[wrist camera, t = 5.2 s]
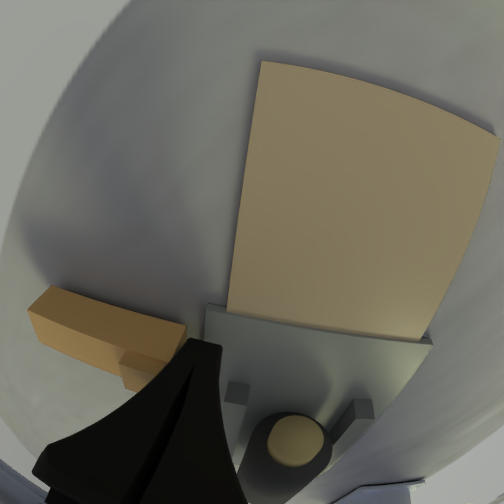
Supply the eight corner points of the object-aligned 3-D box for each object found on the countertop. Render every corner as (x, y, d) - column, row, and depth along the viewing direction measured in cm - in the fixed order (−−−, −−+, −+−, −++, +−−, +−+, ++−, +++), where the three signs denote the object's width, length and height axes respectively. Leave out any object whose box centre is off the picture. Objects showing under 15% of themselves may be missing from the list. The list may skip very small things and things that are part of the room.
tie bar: (186, 358, 12) (168, 404, 10) (60, 316, 13) (33, 349, 10) (186, 325, 11) (164, 375, 9) (51, 285, 12) (19, 317, 9)
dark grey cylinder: (299, 459, 16) (295, 509, 13) (240, 451, 16) (230, 502, 13) (338, 406, 13) (341, 477, 9) (258, 396, 13) (246, 470, 9)
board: (323, 469, 18) (323, 486, 16) (201, 452, 18) (196, 469, 17) (509, 145, 7) (537, 155, 5) (236, 59, 7) (224, 49, 6)
